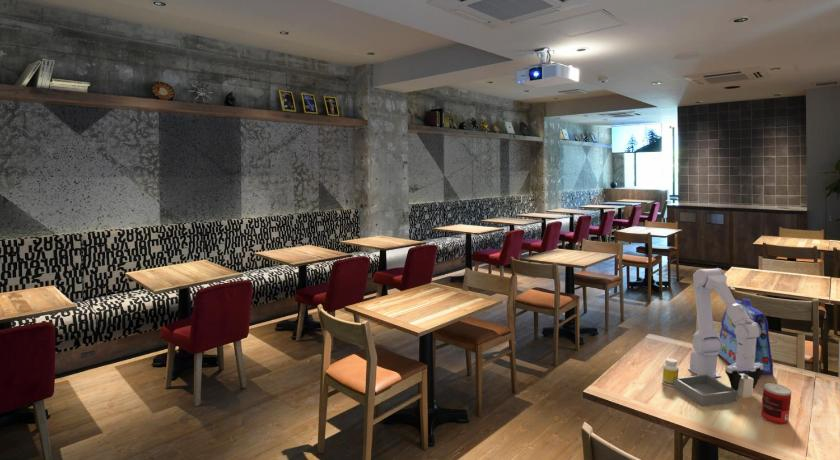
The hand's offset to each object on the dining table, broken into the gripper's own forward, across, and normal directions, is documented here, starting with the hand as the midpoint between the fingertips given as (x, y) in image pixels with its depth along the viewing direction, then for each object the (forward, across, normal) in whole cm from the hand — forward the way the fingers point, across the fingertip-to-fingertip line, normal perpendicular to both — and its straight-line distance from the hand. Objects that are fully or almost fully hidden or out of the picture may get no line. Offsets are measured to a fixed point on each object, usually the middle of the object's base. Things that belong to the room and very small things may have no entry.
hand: (742, 388), depth 183 cm
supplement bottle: (+2, -20, +14) cm, 25 cm away
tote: (+2, -14, +3) cm, 15 cm away
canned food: (+2, -4, -17) cm, 18 cm away
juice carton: (+2, 0, 0) cm, 2 cm away
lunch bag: (+2, +23, +23) cm, 33 cm away
